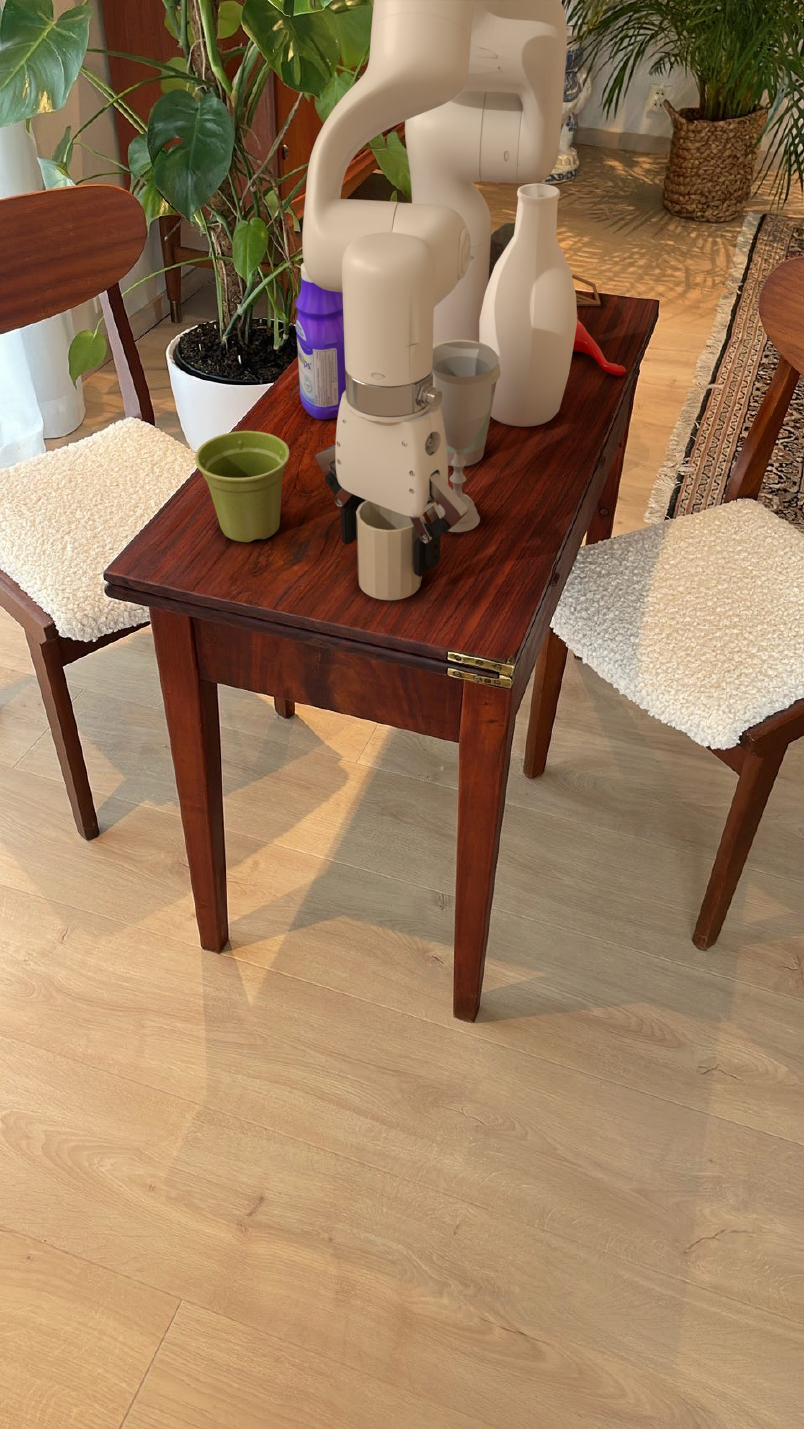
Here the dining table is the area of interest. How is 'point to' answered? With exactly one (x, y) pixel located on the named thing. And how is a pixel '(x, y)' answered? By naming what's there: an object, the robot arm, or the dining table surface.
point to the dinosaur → (594, 350)
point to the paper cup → (385, 552)
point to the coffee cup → (477, 448)
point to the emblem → (584, 300)
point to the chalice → (463, 407)
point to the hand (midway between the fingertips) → (389, 552)
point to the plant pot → (245, 482)
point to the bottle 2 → (531, 314)
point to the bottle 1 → (320, 348)
